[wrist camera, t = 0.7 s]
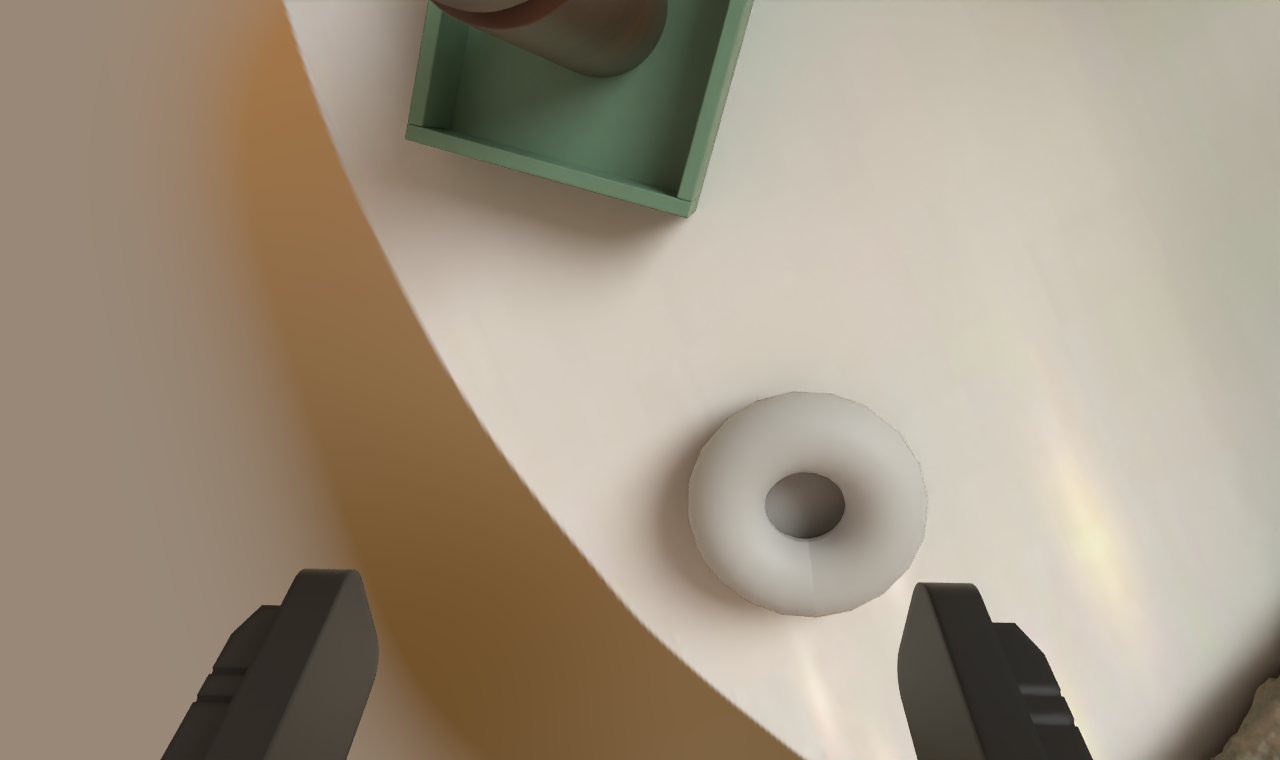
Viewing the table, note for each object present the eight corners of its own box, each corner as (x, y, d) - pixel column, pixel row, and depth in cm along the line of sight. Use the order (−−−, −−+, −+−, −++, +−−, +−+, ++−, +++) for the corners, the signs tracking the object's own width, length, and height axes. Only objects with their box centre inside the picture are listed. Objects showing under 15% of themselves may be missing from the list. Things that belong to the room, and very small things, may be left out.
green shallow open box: (504, -214, 31) (471, -260, 27) (793, -143, 30) (796, -181, 27) (440, 140, 35) (404, 139, 31) (695, 212, 34) (687, 218, 31)
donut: (865, 344, 35) (652, 435, 37) (878, 363, 31) (642, 462, 33) (954, 546, 36) (745, 622, 38) (975, 585, 33) (745, 665, 35)
